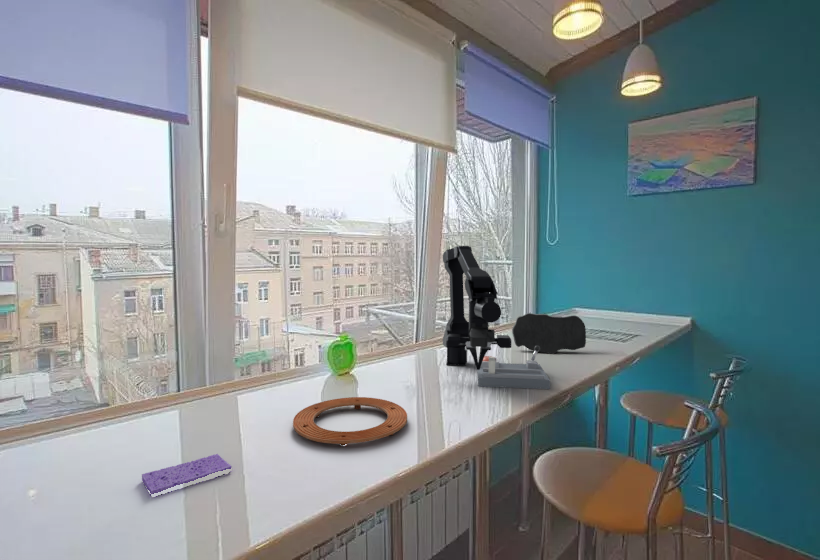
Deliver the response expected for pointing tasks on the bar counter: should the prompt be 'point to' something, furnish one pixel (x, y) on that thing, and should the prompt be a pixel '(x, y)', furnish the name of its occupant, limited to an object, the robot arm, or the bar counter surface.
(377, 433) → the ring
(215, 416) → the bar counter surface
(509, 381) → the switch panel
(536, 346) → the toggle lever
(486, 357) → the push button
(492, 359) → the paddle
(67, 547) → the bar counter surface
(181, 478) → the sponges
